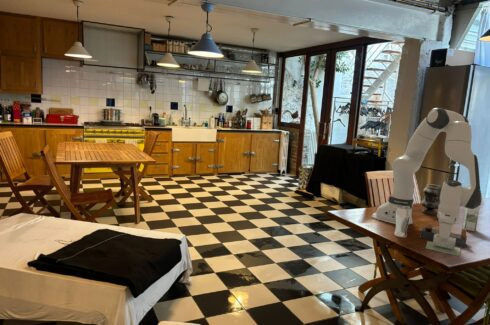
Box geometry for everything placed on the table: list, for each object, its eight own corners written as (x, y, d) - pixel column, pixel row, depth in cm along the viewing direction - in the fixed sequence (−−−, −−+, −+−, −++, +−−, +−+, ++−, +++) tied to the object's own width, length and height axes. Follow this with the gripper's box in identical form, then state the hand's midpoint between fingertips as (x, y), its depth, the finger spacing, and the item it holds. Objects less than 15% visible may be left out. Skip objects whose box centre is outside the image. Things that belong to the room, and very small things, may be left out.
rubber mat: (425, 248, 171) (425, 247, 171) (427, 242, 180) (427, 241, 180) (459, 256, 164) (459, 254, 164) (460, 249, 172) (460, 248, 172)
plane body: (420, 237, 186) (422, 222, 184) (421, 233, 192) (423, 219, 190) (465, 247, 175) (467, 231, 174) (465, 243, 181) (468, 228, 180)
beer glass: (395, 232, 192) (399, 204, 190) (409, 235, 188) (413, 207, 186) (391, 235, 187) (394, 207, 185) (405, 238, 183) (409, 210, 180)
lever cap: (432, 244, 172) (434, 235, 171) (433, 241, 176) (435, 232, 175) (454, 249, 167) (455, 239, 166) (454, 246, 171) (456, 236, 171)
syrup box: (473, 228, 205) (477, 204, 203) (475, 232, 200) (479, 206, 197) (462, 227, 207) (466, 202, 205) (464, 230, 202) (468, 205, 199)
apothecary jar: (439, 216, 226) (443, 188, 223) (418, 212, 232) (422, 185, 229) (441, 212, 236) (445, 185, 233) (420, 208, 242) (424, 182, 240)
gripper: (442, 208, 180) (438, 235, 182) (438, 218, 163) (434, 247, 165) (456, 211, 176) (452, 238, 179) (454, 221, 159) (449, 251, 162)
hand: (443, 242), depth 172 cm, fingers closed on lever cap, 5 cm apart
